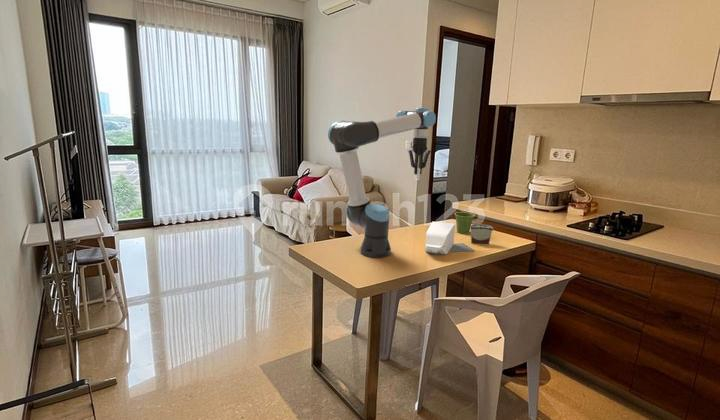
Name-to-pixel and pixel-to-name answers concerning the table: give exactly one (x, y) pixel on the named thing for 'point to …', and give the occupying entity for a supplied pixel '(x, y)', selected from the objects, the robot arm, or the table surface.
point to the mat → (460, 248)
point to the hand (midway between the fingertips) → (417, 180)
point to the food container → (480, 234)
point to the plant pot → (463, 221)
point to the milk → (440, 237)
